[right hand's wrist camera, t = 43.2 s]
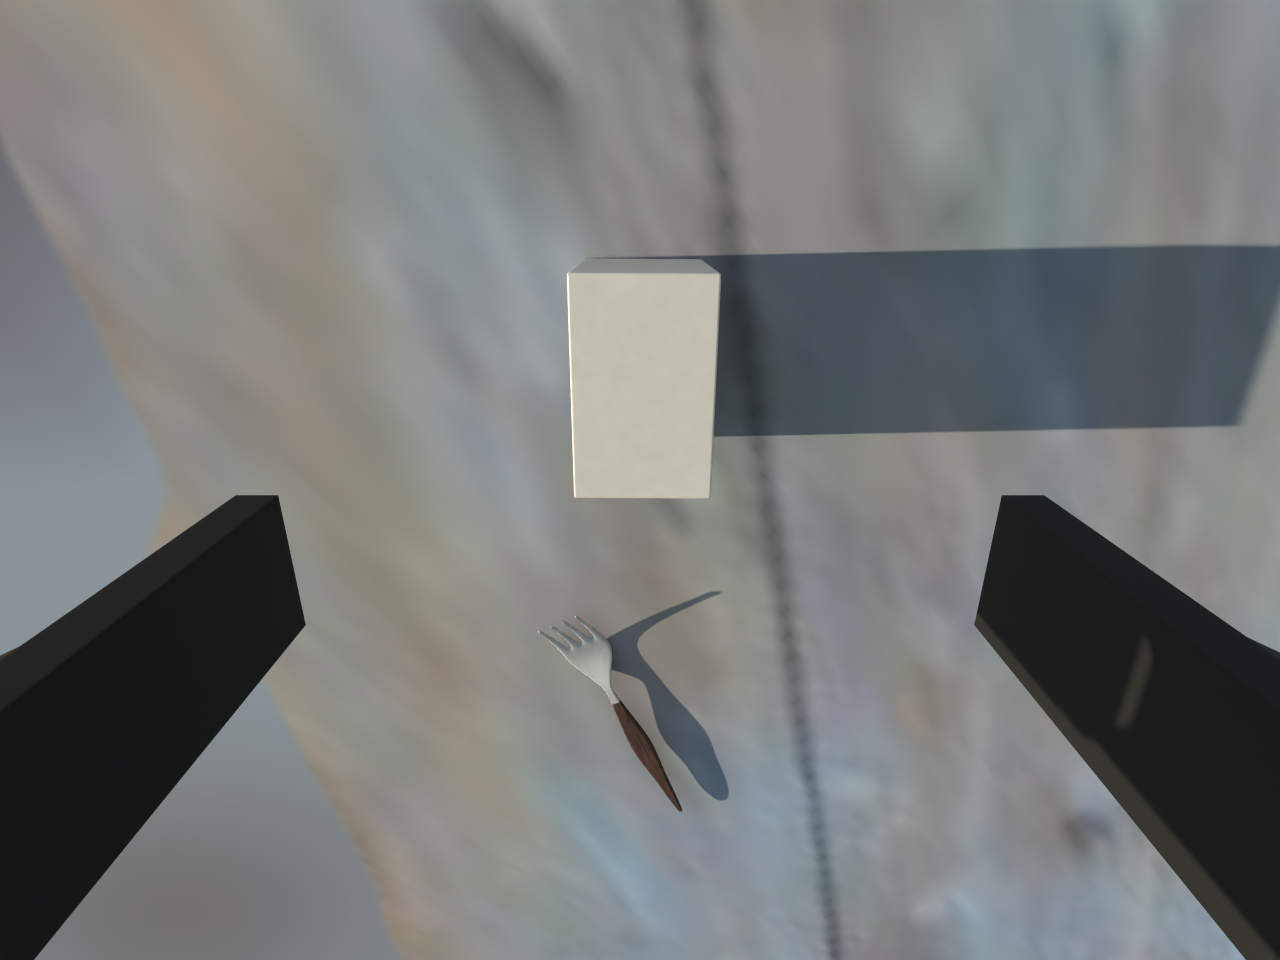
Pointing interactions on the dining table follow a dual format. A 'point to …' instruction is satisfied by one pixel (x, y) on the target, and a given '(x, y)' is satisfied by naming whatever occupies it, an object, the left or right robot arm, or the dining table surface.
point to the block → (643, 376)
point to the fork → (612, 695)
